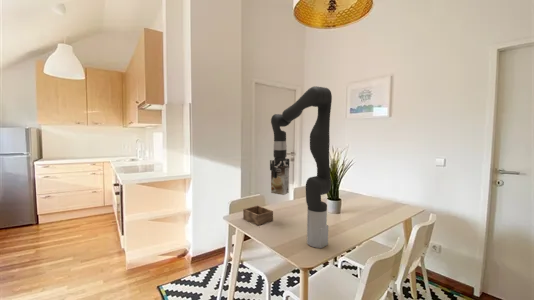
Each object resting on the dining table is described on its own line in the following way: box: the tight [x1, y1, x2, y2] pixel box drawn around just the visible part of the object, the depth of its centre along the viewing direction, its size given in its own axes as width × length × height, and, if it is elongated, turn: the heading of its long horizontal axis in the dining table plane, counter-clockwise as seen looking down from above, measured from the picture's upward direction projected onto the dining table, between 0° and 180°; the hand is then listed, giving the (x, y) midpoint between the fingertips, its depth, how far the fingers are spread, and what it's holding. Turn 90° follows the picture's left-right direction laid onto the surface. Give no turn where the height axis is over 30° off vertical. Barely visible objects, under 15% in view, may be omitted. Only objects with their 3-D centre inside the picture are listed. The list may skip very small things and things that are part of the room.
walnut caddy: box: [242, 205, 274, 226], centre depth 149 cm, size 15×12×6 cm
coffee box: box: [270, 165, 290, 196], centre depth 142 cm, size 9×6×16 cm
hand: (279, 177), depth 142 cm, fingers closed on coffee box, 7 cm apart
